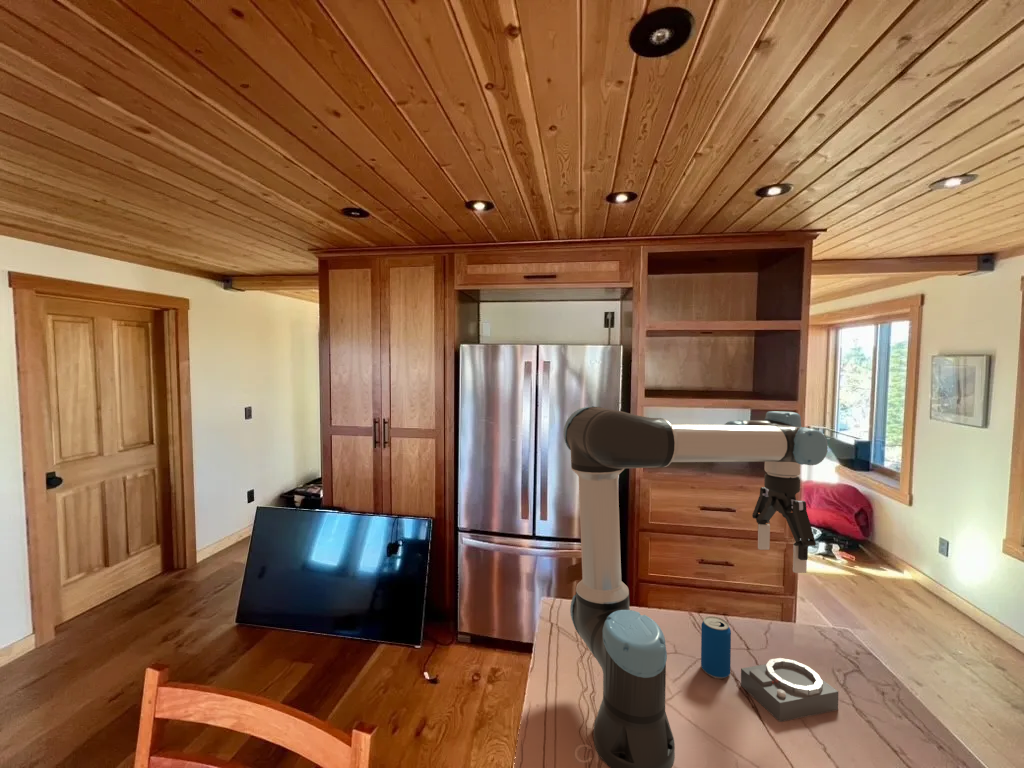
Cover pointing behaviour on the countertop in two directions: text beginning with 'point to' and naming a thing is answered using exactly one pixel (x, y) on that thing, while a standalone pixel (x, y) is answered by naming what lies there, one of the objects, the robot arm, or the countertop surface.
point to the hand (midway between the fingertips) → (780, 560)
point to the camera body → (787, 693)
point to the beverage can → (715, 647)
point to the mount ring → (789, 686)
